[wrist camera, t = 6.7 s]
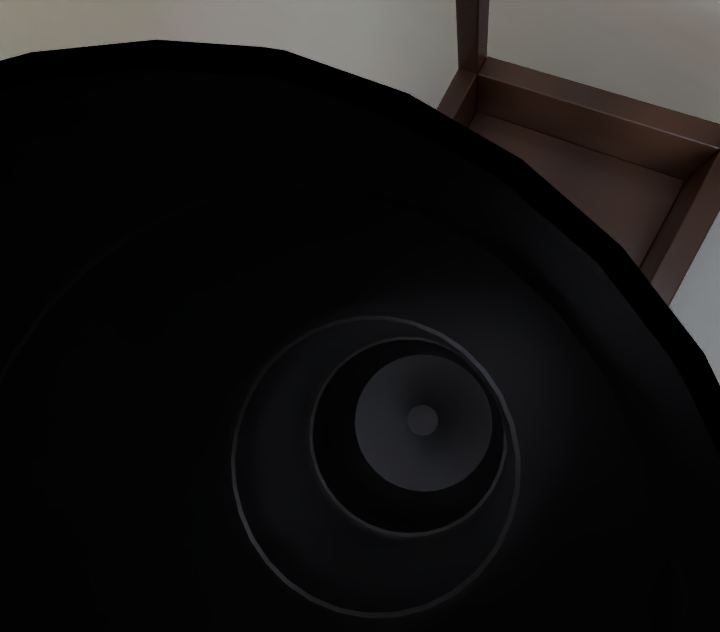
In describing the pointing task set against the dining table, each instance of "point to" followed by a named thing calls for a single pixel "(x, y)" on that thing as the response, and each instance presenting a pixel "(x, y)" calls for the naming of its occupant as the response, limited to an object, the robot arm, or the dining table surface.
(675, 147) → the wooden divided caddy
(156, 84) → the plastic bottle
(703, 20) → the dining table surface
